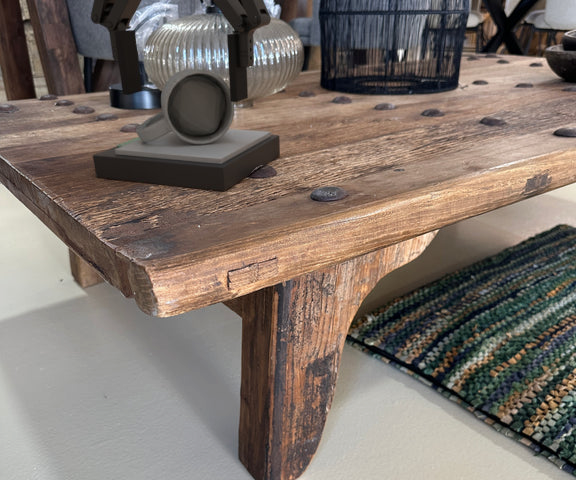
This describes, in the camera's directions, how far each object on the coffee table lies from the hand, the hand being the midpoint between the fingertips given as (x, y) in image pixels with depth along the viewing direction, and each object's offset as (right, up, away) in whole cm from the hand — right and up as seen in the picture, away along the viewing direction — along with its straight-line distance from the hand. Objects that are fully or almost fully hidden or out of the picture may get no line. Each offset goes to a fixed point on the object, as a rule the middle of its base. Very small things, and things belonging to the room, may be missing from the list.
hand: (184, 96), depth 63 cm
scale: (0, -7, +3) cm, 8 cm away
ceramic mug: (0, -4, +2) cm, 5 cm away
